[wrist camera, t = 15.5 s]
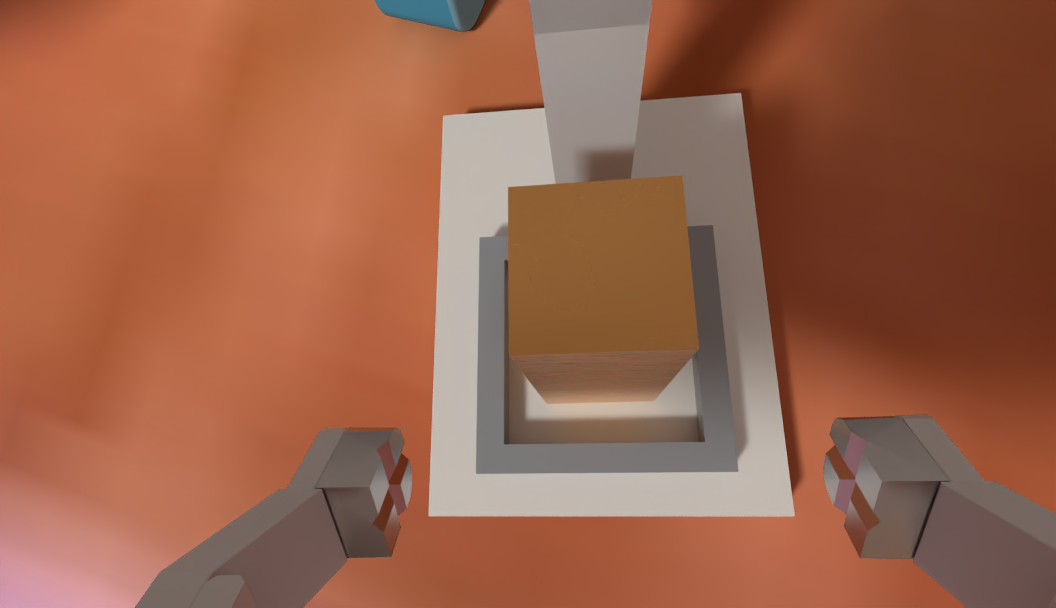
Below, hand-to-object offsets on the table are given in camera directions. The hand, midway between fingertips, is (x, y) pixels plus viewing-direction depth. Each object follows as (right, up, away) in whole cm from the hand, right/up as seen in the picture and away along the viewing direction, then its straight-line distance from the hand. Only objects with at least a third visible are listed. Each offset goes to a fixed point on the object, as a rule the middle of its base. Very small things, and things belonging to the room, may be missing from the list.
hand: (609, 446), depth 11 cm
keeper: (+1, +2, +13) cm, 14 cm away
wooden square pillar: (+1, +1, +11) cm, 11 cm away
